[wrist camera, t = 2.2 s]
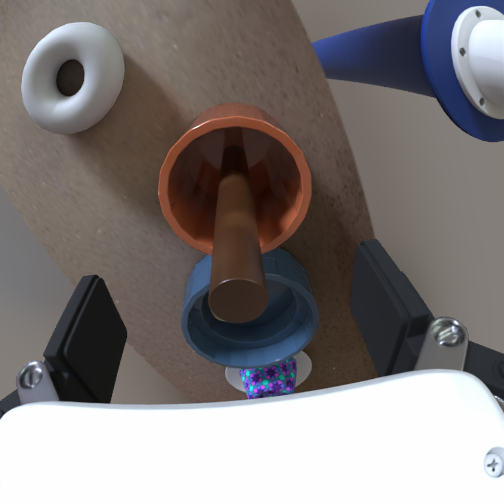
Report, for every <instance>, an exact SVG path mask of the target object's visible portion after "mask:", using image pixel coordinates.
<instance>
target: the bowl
mask: <svg viewBox="0 0 504 504" xmlns="http://www.w3.org/2000/svg"><path fill="white" fill-rule="evenodd" d="M262 260H263V267H264V274H265V280H266V287H267V294H268V305H267V307H266V309H265V311H264V312H263V313H262V314H261V315H260V316H259V317H257V318H256V319H254V320H252V321H249V322H244V323H231V322H227V321H220V320H218V319H217V318H215V317H214V315H213V314H212V312H211V309H210V306H209V302H208V298H209V285H210V273H211V261H212V256H210V255H207V256H205V257H204V258H203V259H202V260H201V261H200V262H198V263H197V264H196V265H195V267H194V269H193V271H192V272H191V274H190V276H189V278H188V280H187V286H186V292H185V298H184V304H183V310H182V320H181V329H182V331H183V334H184V337H185V339H186V341H187V343H188V344H189V345H190V346H191V347H192V349H193V350H194V351H195V352H196V353H197V354H199V355H200V356H202V357H204V358H205V359H207V360H209V361H210V362H212V363H215V364H219V365H222V366H225V367H229V368H238V369H255V368H264V367H269V366H272V365H275V364H278V363H281V362H284V361H286V360H288V359H290V358H291V357H293V356H295V355H297V354H298V353H300V352H301V351H302V350H303V349H304V348H305V347H306V346H307V345H308V344H309V343H310V342H311V341H312V339H313V337H314V335H315V333H316V331H317V329H318V327H319V309H318V306H317V303H316V300H315V296H314V293H313V290H312V287H311V284H310V281H309V278H308V276H307V274H306V271H305V269H304V267H303V265H302V264H301V263H300V262H299V261H298V260H297V259H296V258H295V257H294V256H293V255H292V254H291V253H289V252H287V251H285V250H283V249H280V248H278V247H277V248H275V249H273V250H270V251H268V252H266V253H263V254H262Z"/></svg>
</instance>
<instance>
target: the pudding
mask: <svg viewBox="0 0 504 504" xmlns="http://www.w3.org/2000/svg"><path fill="white" fill-rule="evenodd" d="M311 369H312V363H311V360H310V358H309V357H308V355H307V354H306V353H304V352H303V351H301V352H300V353H298V354H297V355H295V356H293V357H291V358H290V359H288V360H286V361H284V362H281V363H278V364H275V365H272V366H269V367H264V368H255V369H238V368H229V367H227V368H226V372H225V374H226V378H227V380H228V382H229V383H230V384H231V385H232V386H233V387H235V388H236V389H239V390H241V391H243V392H246V393H247V396H248V398H249V399H258V398H266V397H275V396H282V395H289V394H295V387H296V386H298V385H299V384H300V383H302V382H303V381H304V380H305V379H306V378H307V377H308V376H309V374H310V372H311Z"/></svg>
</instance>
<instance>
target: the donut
mask: <svg viewBox="0 0 504 504" xmlns="http://www.w3.org/2000/svg"><path fill="white" fill-rule="evenodd" d="M70 59H76V60H78V61H79V62H80V63H81V64H82V66H83V68H84V73H85V78H84V83H83V85H82V87H81V89H80V90H79V91H78V93H76V94H75V95H73V96H70V97H67V96H64V95H62V94H61V93H60V92H59V90H58V88H57V83H56V78H57V73H58V70H59V68H60V67H61V65H62V64H63V63H65V62H66V61H67V60H70ZM124 73H125V67H124V59H123V52H122V50H121V48H120V46H119V44H118V42H117V40H116V39H115V38H114V37H113V36H112V35H111V34H110V33H109V32H108V31H107V30H105V29H104V28H103V27H101V26H98V25H95V24H92V23H89V22H82V23H69V24H67V25H64V26H62V27H59V28H57V29H55V30H53V31H52V32H51V33H49V34H48V35H47V36H46V37H45V38H43V39H42V40H41V41H40V42H39V43H38V44H37V46H36V47H35V49H34V50H33V51H32V53H31V54H30V56H29V58H28V60H27V63H26V66H25V68H24V71H23V77H22V87H21V89H22V95H23V101H24V105H25V107H26V109H27V111H28V113H29V115H30V117H31V118H32V119H33V120H34V121H35V122H36V123H37V124H38V125H39V126H40V127H42V128H44V129H46V130H48V131H50V132H52V133H56V134H73V133H77V132H80V131H84V130H87V129H88V128H90V127H91V126H93V125H94V124H96V123H97V122H99V121H100V120H102V119H103V117H104V116H105V115H106V114H107V113H108V111H109V110H110V109H111V108H112V107H113V106H114V104H115V102H116V100H117V98H118V95H119V93H120V91H121V89H122V84H123V79H124Z"/></svg>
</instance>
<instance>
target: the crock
mask: <svg viewBox="0 0 504 504" xmlns="http://www.w3.org/2000/svg"><path fill="white" fill-rule="evenodd" d="M232 145H237V146H240V147H242V148H243V149H244V151H245V153H246V157H247V164H248V170H249V176H250V183H251V189H252V195H253V202H254V208H255V215H256V221H257V228H258V234H259V241H260V247H261V254H263V253H266V252H268V251H270V250H273V249H275V248H277V247H278V246H279V245H280V244H282V243H283V242H284V241H286V240H287V239H288V238H289V237H291V236H292V235H293V234H294V233H295V231H296V230H297V228H298V227H299V225H300V224H301V223H302V221H303V220H304V218H305V216H306V213H307V210H308V207H309V204H310V201H311V196H312V183H311V172H310V170H309V167H308V164H307V162H306V159H305V157H304V154H303V153H302V151H301V150H300V148H299V147H298V146H297V145H296V144H295V142H294V141H293V140H292V139H291V138H290V136H289V135H288V134H287V133H286V132H285V131H284V129H283V128H282V127H281V126H280V125H279V124H278V123H277V122H276V121H275V119H274V118H273V117H272V116H271V115H270V114H268V113H266V112H265V111H263V110H262V109H260V108H258V107H256V106H253V105H249V104H244V103H225V104H220V105H217V106H214V107H212V108H210V109H208V110H206V111H204V112H202V113H201V114H200V115H199V116H198V117H197V118H196V119H195V120H194V121H193V122H192V123H191V124H190V125H189V126H188V127H187V128H186V130H185V131H184V132H183V133H182V135H181V136H180V137H179V139H178V140H177V141H176V142H175V144H174V145H173V146H172V148H171V149H170V150H169V153H168V155H167V157H166V159H165V161H164V163H163V165H162V167H161V171H160V176H159V186H158V196H159V200H160V204H161V208H162V212H163V215H164V217H165V219H166V220H167V222H168V223H169V225H170V226H171V228H172V230H173V231H174V233H175V234H176V235H177V236H179V237H180V238H181V239H182V240H183V241H184V242H186V243H187V244H188V245H189V246H190V247H192V248H194V249H197V250H199V251H201V252H203V253H206V254H208V255H210V256H212V250H213V239H214V229H215V218H216V208H217V199H218V190H219V180H220V172H221V163H222V155H223V152H224V150H225V149H226V148H227V147H229V146H232Z"/></svg>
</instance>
